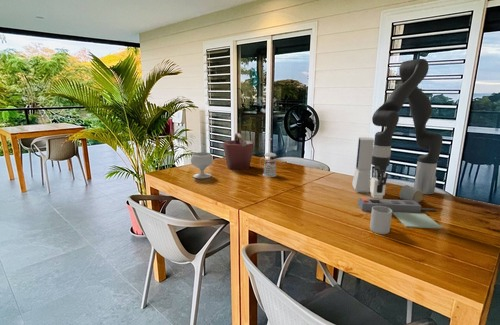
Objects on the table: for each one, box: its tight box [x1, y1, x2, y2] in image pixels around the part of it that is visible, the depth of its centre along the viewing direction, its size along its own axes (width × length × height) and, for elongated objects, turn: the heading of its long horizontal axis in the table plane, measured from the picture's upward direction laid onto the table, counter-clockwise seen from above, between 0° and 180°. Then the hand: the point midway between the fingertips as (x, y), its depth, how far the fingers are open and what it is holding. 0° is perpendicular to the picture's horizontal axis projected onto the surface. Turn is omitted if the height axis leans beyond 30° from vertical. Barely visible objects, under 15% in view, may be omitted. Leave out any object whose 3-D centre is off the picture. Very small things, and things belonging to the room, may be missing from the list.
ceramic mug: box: [398, 184, 423, 204], centre depth 144 cm, size 11×8×8 cm
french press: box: [259, 137, 278, 178], centre depth 188 cm, size 10×12×25 cm
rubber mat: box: [392, 212, 443, 229], centre depth 122 cm, size 14×14×1 cm
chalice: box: [190, 151, 214, 180], centre depth 184 cm, size 14×14×15 cm
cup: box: [369, 206, 393, 235], centre depth 113 cm, size 7×10×9 cm
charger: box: [369, 176, 387, 199], centre depth 132 cm, size 5×5×9 cm
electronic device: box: [352, 136, 375, 194], centre depth 158 cm, size 12×8×30 cm, turn 168°
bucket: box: [222, 132, 254, 171], centre depth 208 cm, size 24×22×25 cm
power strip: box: [357, 198, 436, 213], centre depth 133 cm, size 34×7×4 cm, turn 85°
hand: (377, 190), depth 133 cm, fingers closed on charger, 5 cm apart
